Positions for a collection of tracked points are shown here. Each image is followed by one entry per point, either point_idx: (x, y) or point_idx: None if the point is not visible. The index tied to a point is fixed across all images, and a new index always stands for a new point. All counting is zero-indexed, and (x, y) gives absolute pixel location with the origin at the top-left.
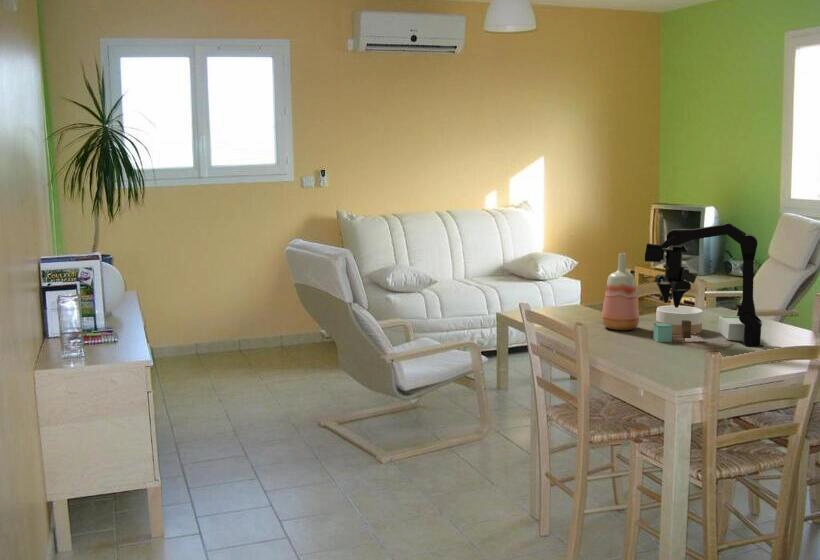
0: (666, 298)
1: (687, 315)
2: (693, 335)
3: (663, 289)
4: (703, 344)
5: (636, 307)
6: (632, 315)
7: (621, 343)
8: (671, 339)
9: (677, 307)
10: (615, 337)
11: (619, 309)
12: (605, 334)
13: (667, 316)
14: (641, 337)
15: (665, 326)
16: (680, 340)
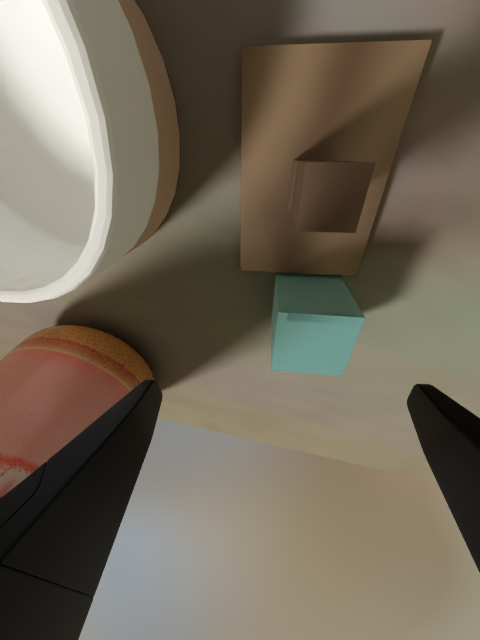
0: (140, 429)
1: (111, 95)
2: (261, 98)
3: (73, 590)
4: (469, 104)
5: (66, 405)
6: (119, 394)
7: (315, 413)
8: (342, 282)
9: (423, 385)
10: (237, 403)
11: None
12: (199, 410)
13: (109, 263)
14: (240, 348)
15: (352, 347)
16: (366, 242)
